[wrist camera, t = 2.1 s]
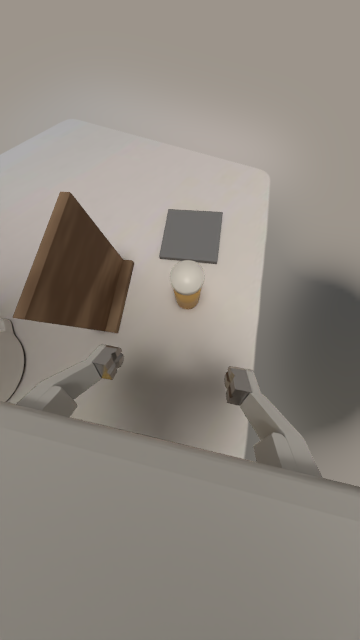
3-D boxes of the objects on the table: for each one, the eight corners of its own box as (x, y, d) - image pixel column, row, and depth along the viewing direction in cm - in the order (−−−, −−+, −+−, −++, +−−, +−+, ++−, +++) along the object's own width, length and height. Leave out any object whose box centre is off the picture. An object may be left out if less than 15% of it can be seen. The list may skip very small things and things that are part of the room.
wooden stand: (92, 329, 23) (-6, 314, 12) (110, 260, 26) (44, 191, 14) (117, 333, 23) (43, 322, 11) (134, 263, 25) (86, 192, 13)
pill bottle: (174, 308, 23) (167, 290, 15) (177, 286, 24) (172, 258, 16) (197, 311, 23) (202, 294, 15) (200, 289, 23) (206, 261, 16)
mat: (159, 258, 25) (159, 256, 24) (169, 212, 27) (168, 209, 26) (216, 263, 24) (217, 261, 23) (221, 215, 26) (222, 212, 25)
